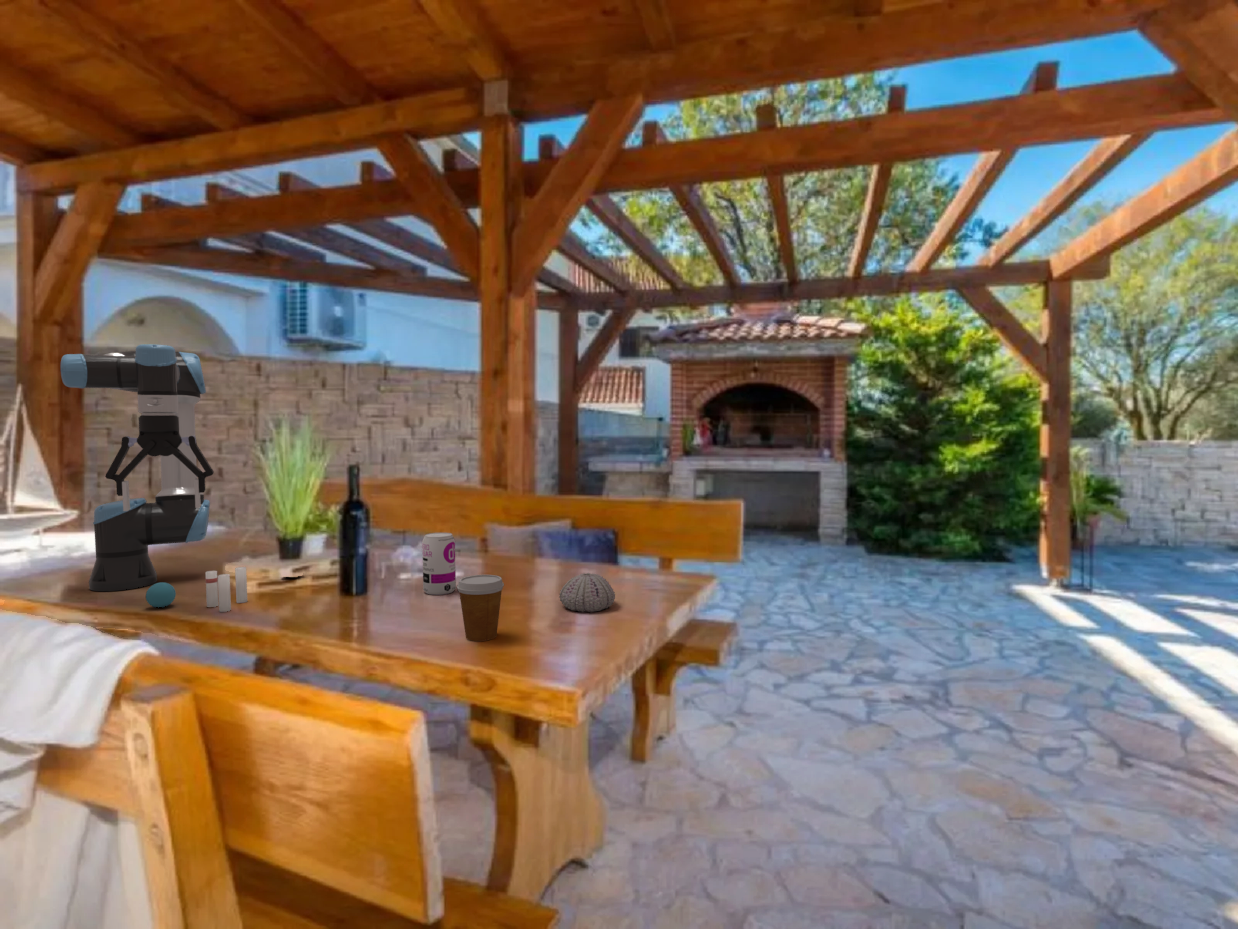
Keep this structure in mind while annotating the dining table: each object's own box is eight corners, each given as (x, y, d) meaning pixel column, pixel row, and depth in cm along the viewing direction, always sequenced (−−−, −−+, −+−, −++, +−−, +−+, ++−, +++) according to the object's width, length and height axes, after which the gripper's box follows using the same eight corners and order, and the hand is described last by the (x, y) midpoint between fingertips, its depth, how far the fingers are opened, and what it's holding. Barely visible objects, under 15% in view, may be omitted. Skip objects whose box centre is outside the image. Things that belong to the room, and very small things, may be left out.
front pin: (206, 606, 167) (205, 571, 167) (218, 604, 169) (216, 570, 168) (206, 608, 165) (205, 573, 165) (218, 606, 167) (217, 572, 166)
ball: (146, 606, 167) (145, 581, 167) (176, 602, 171) (175, 578, 170) (145, 612, 162) (144, 586, 162) (176, 608, 166) (175, 583, 165)
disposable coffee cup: (461, 630, 147) (460, 574, 146) (506, 629, 148) (505, 573, 147) (454, 644, 138) (453, 585, 137) (502, 643, 139) (501, 584, 138)
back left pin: (236, 601, 172) (234, 567, 171) (247, 600, 173) (245, 566, 172) (236, 603, 170) (235, 569, 169) (247, 602, 171) (246, 568, 170)
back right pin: (219, 610, 164) (217, 574, 163) (230, 608, 165) (229, 573, 164) (219, 612, 162) (218, 576, 161) (231, 611, 163) (229, 575, 162)
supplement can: (461, 589, 183) (460, 533, 182) (444, 596, 176) (443, 538, 175) (435, 586, 186) (434, 531, 185) (416, 594, 178) (415, 536, 177)
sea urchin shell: (622, 602, 170) (621, 569, 170) (606, 616, 157) (606, 582, 157) (571, 598, 174) (570, 566, 174) (551, 612, 161) (551, 578, 161)
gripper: (85, 414, 146) (90, 514, 148) (221, 414, 157) (224, 507, 158) (94, 414, 153) (99, 509, 155) (224, 414, 164) (227, 503, 165)
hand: (163, 508), depth 157 cm, fingers open, 13 cm apart
